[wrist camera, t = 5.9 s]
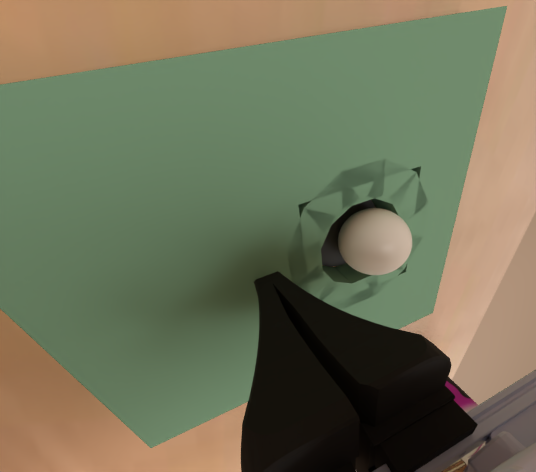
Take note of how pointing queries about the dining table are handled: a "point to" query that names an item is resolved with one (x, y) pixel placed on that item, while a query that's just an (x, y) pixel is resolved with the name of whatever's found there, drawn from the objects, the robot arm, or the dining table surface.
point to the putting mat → (228, 200)
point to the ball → (375, 241)
